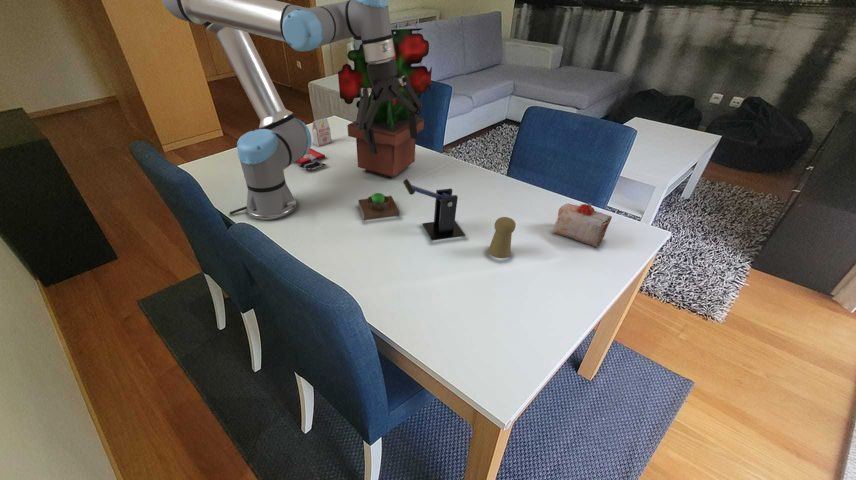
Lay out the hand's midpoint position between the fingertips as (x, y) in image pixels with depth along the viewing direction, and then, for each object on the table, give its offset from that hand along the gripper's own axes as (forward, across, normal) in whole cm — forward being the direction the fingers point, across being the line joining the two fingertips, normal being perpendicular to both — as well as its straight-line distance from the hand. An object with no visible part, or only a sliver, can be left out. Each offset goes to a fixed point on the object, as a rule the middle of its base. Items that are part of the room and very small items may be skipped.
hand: (394, 145), depth 109 cm
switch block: (+20, -7, +5) cm, 22 cm away
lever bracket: (+24, +3, -15) cm, 28 cm away
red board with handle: (+12, -12, +59) cm, 61 cm away
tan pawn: (+28, +9, -31) cm, 42 cm away
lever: (+11, -1, -15) cm, 19 cm away
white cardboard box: (+12, +3, +69) cm, 70 cm away
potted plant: (+18, +12, +32) cm, 39 cm away
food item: (+31, +35, -36) cm, 59 cm away
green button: (+16, -6, +5) cm, 18 cm away
